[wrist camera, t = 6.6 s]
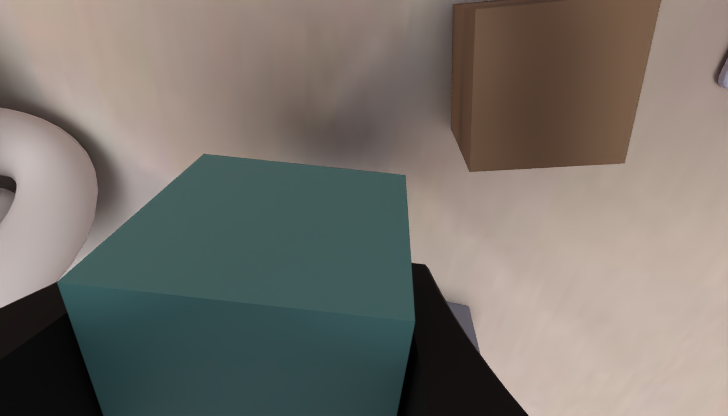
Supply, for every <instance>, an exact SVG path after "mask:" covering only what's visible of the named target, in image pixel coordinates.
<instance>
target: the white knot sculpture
mask: <svg viewBox="0 0 728 416" xmlns="http://www.w3.org/2000/svg"><path fill="white" fill-rule="evenodd" d="M0 175H3V176H9V177H11V178H13V179H14V180H15V182H16V184H17V189H16V194H15V193H13V192H11V191H10V190H7V189H4V188H0V308H1V307H4V306H6V305H8V304H10V303H12V302H14V301H17V300H19V299H21V298H23V297H25V296H27V295H29V294H32V293H34V292H36V291H38V290H40V289H42V288H45V287H47V286H49V285H51V284H53V283H55V282H57V281H58V280H59V279H60V277H61V276H62V275H63V274H64V273H65V272H66V270H67V269H68V268H69V267H70V266H71V264H72V263H73V261H74V260H75V258H76V256H77V255H78V253H79V251H80V250H81V248H82V246H83V245H84V243H85V241H86V239H87V236H88V234H89V231H90V228H91V226H92V223H93V220H94V217H95V211H96V203H97V196H98V186H97V179H96V171H95V169H94V167H93V164H92V162H91V160H90V158H89V155H88V154H87V152H86V151H85V150H84V149H83V147H82V146H81V145H80V144H79V143H78V141H77V140H76V139H75V138H73V137H72V136H71V135H69V134H68V133H67V132H65V131H64V130H63V129H62V128H60V127H58V126H56V125H54V124H52V123H50V122H48V121H46V120H44V119H42V118H39V117H36V116H33V115H30V114H27V113H24V112H20V111H16V110H11V109H7V108H0Z"/></svg>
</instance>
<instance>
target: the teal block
mask: <svg viewBox="0 0 728 416" xmlns="http://www.w3.org/2000/svg"><path fill="white" fill-rule="evenodd" d="M57 284H58V287H59V289H60V292H61V295H62V298H63V301H64V304H65V307H66V310H67V312H68V315H69V318H70V321H71V324H72V327H73V330H74V333H75V335H76V338H77V341H78V344H79V347H80V350H81V353H82V356H83V358H84V361H85V364H86V367H87V370H88V373H89V376H90V378H91V381H92V384H93V387H94V390H95V393H96V396H97V399H98V401H99V404H100V407H101V410H102V413H103V416H397V412H398V406H399V401H400V396H401V391H402V386H403V381H404V376H405V371H406V366H407V361H408V356H409V351H410V345H411V340H412V335H413V330H414V325H415V311H414V296H413V281H412V266H411V251H410V236H409V221H408V206H407V191H406V176H405V175H400V174H390V173H381V172H371V171H362V170H352V169H343V168H333V167H323V166H314V165H304V164H295V163H285V162H276V161H266V160H256V159H247V158H237V157H228V156H218V155H209V154H203V155H202V156H201V157H200V158H199V159H198V160H196V161H195V162H194V163H193V164H192V165H191V166H190V167H188V168H187V169H186V170H185V171H184V172H183V173H182V174H180V175H179V176H178V177H177V178H176V179H175V180H174V181H172V182H171V183H170V184H169V185H168V186H167V187H166V188H164V189H163V190H162V191H161V192H160V193H159V194H157V195H156V196H155V197H154V198H153V199H152V200H151V201H149V202H148V203H147V204H146V205H145V206H144V207H143V208H141V209H140V210H139V211H138V212H137V213H136V214H135V215H133V216H132V217H131V218H130V219H129V220H128V221H127V222H125V223H124V224H123V225H122V226H121V227H120V228H119V229H117V230H116V231H115V232H114V233H113V234H112V235H111V236H109V237H108V238H107V239H106V240H105V241H104V242H103V243H101V244H100V245H99V246H98V247H97V248H96V249H94V250H93V251H92V252H91V253H90V254H89V255H88V256H86V257H85V258H84V259H83V260H82V261H81V262H80V263H78V264H77V265H76V266H75V267H74V268H73V269H72V270H70V271H69V272H68V273H67V274H66V275H65V276H64V277H62V278H61V279H60V280H59V281H58V282H57Z"/></svg>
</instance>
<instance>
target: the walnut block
mask: <svg viewBox="0 0 728 416" xmlns="http://www.w3.org/2000/svg"><path fill="white" fill-rule="evenodd" d="M660 3H661V0H496V1H485V2H475V3H464V4H453V29H452V109H451V130H452V132H453V134H454V137H455V139H456V141H457V144H458V146H459V148H460V151H461V153H462V155H463V157H464V160H465V162H466V164H467V167H468V169H469V171H470V172H477V171H495V170H513V169H531V168H548V167H566V166H584V165H602V164H620V163H625V159H626V155H627V150H628V146H629V141H630V137H631V132H632V128H633V123H634V119H635V115H636V110H637V106H638V101H639V97H640V92H641V88H642V83H643V79H644V74H645V70H646V65H647V61H648V56H649V52H650V47H651V43H652V39H653V34H654V30H655V25H656V21H657V16H658V12H659V7H660Z"/></svg>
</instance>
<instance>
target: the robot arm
mask: <svg viewBox="0 0 728 416" xmlns="http://www.w3.org/2000/svg"><path fill="white" fill-rule="evenodd" d="M718 82H719V85H720V86H721V87H723V88H726V89H728V58H727V60H726V62H725V64H724V66H723V68H722V70H721V73H720V75H719V78H718ZM411 266H412V281H413V296H414V311H415V325H414V330H413V335H412V340H411V345H410V351H409V356H408V361H407V366H406V371H405V376H404V381H403V386H402V391H401V396H400V401H399V406H398V412H397V416H528V414H527V413H526V412H525V411H524V410H523V408H522V407H521V406H520V405H519V404H518V402H517V401H516V400H515V399H514V398H513V397H512V395H511V394H510V393H509V392H508V390H507V389H506V388H505V387H504V385H503V384H502V383H501V382H500V380H499V379H498V378H497V376H496V375H495V374H494V372H493V371H492V370H491V368H490V367H489V366H488V364H487V363H486V362H485V360H484V359H483V357H482V356H481V355H480V353H479V352H478V351H477V349H476V348H475V346H474V345H473V343H472V342H471V340H470V339H469V337H468V336H467V334H466V333H465V331H464V330H463V328H462V326H461V325H460V323H459V322H458V320H457V319H456V317H455V316H454V314H453V312H452V311H451V309H450V307H449V306H448V304H447V302H446V300H445V299H444V297H443V295H442V293H441V292H440V290H439V288H438V286H437V284H436V282H435V280H434V278H433V276H432V275H431V272H430V270H429V269H428V267H427V266H426V265H425V264H416V263H411ZM57 282H58V281H57ZM57 282H55V283H53V284H51V285H49V286H47V287H45V288H42V289H40V290H38V291H36V292H34V293H32V294H29V295H27V296H25V297H23V298H21V299H19V300H17V301H14V302H12V303H10V304H8V305H6V306H4V307H1V308H0V416H103V413H102V410H101V407H100V404H99V401H98V399H97V396H96V393H95V390H94V387H93V384H92V381H91V378H90V376H89V373H88V370H87V367H86V364H85V361H84V358H83V356H82V353H81V350H80V347H79V344H78V341H77V338H76V335H75V333H74V330H73V327H72V324H71V321H70V318H69V315H68V312H67V310H66V307H65V304H64V301H63V298H62V295H61V292H60V289H59V287H58V284H57Z"/></svg>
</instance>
